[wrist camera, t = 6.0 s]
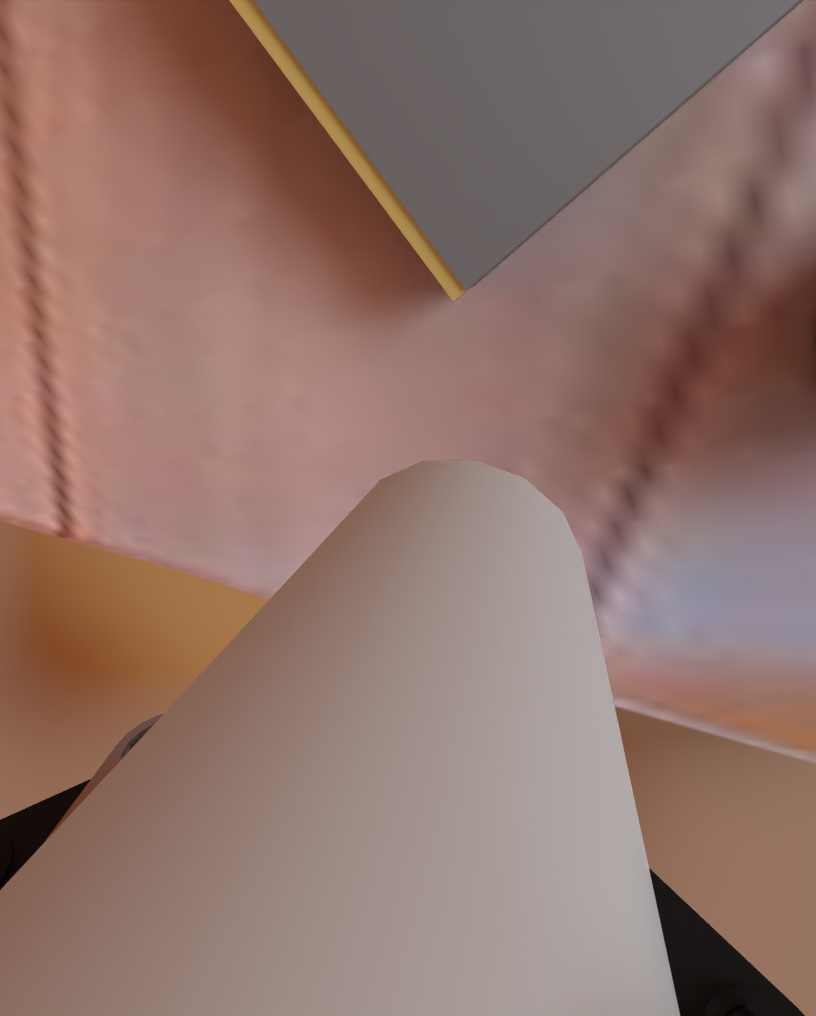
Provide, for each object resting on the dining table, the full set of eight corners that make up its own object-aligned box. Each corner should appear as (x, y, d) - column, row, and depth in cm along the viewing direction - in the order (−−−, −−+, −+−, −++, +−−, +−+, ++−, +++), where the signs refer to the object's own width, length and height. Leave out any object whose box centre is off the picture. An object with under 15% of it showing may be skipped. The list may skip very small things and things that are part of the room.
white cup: (568, 707, 13) (607, 1568, 5) (324, 648, 14) (-19, 1242, 6) (642, 466, 10) (1172, 1613, 2) (328, 417, 12) (-375, 914, 3)
